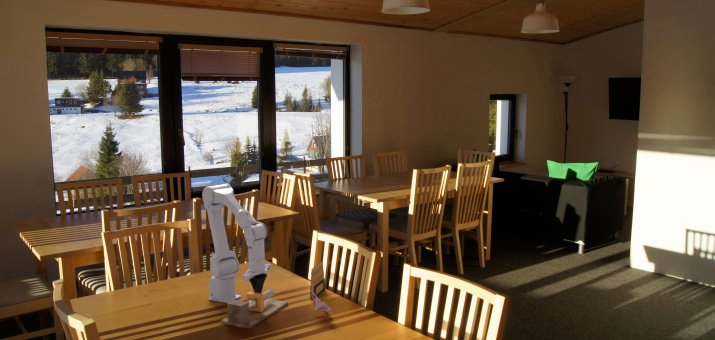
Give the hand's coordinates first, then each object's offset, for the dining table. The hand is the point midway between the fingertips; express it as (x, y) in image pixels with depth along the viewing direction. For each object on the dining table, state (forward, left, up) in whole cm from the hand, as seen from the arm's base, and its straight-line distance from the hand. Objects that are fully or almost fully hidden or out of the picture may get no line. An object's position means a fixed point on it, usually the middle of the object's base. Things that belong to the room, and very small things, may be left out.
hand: (258, 294), depth 214 cm
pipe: (0, -1, -3) cm, 4 cm away
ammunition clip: (+11, +24, -7) cm, 27 cm away
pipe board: (0, -2, -7) cm, 7 cm away
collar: (0, -2, -5) cm, 5 cm away
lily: (+23, +5, -7) cm, 24 cm away
